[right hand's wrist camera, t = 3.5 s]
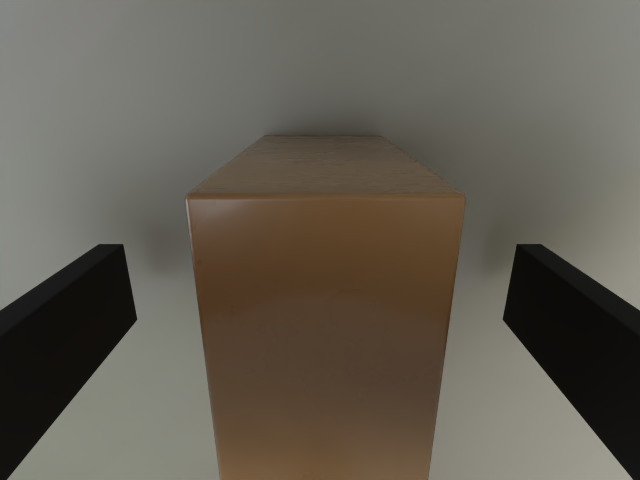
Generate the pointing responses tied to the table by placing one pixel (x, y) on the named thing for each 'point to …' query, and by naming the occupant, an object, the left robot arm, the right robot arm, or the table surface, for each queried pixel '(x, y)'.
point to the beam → (324, 307)
